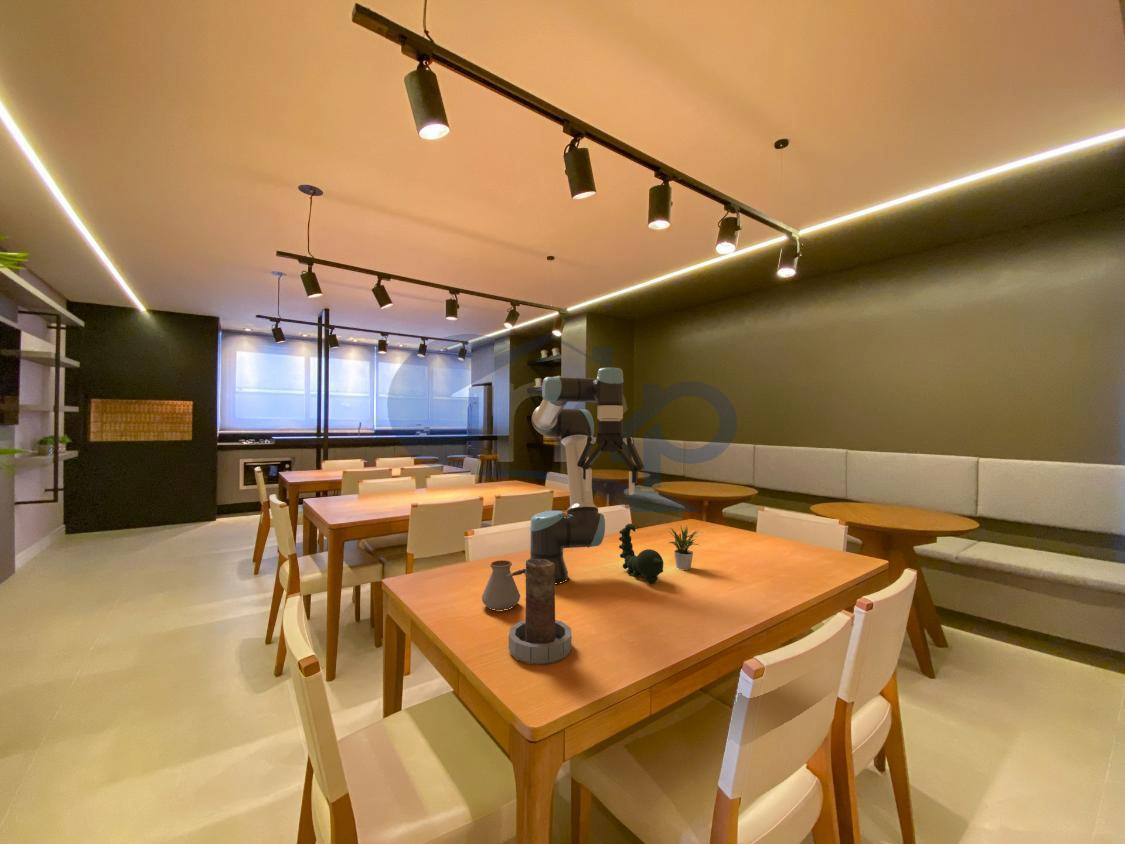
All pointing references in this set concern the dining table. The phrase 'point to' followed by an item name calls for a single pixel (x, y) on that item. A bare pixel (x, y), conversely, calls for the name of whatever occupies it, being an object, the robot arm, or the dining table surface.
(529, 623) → the candle
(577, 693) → the dining table surface
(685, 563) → the house plant
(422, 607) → the dining table surface
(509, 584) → the coffee pot
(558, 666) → the dining table surface
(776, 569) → the dining table surface
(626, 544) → the toy figurine
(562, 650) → the candle dish
